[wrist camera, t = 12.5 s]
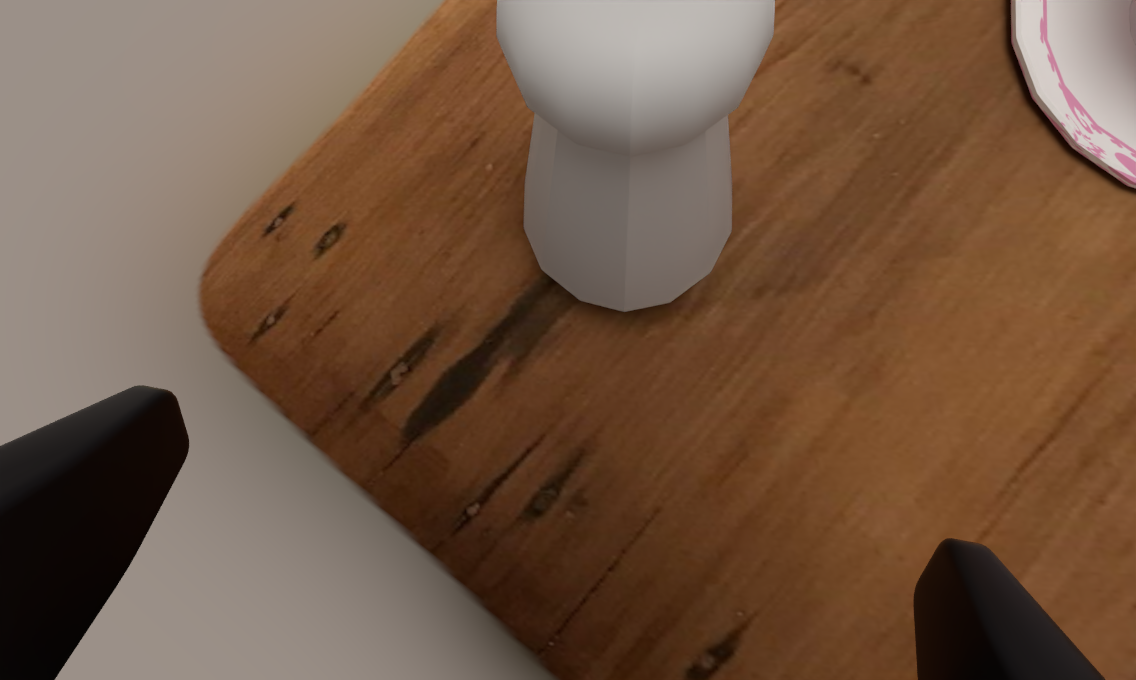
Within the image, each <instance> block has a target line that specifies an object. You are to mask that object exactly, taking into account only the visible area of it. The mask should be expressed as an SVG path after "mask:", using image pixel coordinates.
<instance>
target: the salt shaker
mask: <svg viewBox="0 0 1136 680" xmlns="http://www.w3.org/2000/svg"><path fill="white" fill-rule="evenodd" d="M774 11H775V0H497V38H498V41H499V43H500V46H501V48H502V50H503V53H504V55H505V58H506V60H507V62H508V64H509V67H510V69H511V71H512V73H513V76H514V78H515V80H516V82H517V85H518V87H519V89H520V91H521V94H522V96H523V98H524V100H525V103H526V105H527V107H528V108H529V109H531V110H532V111H533V112H535V115H534V122H533V129H532V136H531V143H530V150H529V157H528V164H527V171H526V178H525V195H524V230H525V232H526V235H527V237H528V239H529V242H530V244H531V246H532V249H533V251H534V254H535V256H536V258H537V261H538V263H539V265H540V268H541V270H543V271H544V272H545V273H546V274H548V275H549V276H550V277H551V278H553V279H554V280H555V281H556V282H558V283H559V284H560V285H561V286H563V287H564V288H565V289H566V290H567V291H569V292H570V293H571V294H572V295H574V296H575V297H576V298H577V299H579V300H580V301H583V302H587V303H591V304H595V305H599V306H603V307H607V308H611V309H615V310H619V311H623V312H627V311H632V310H637V309H642V308H647V307H652V306H657V305H661V304H666V303H670V302H672V301H673V300H674V299H676V298H677V297H678V296H680V295H681V294H682V293H684V292H685V291H686V290H688V289H689V288H690V287H692V286H693V285H694V284H696V283H697V282H698V281H700V280H701V279H703V278H704V277H705V276H707V275H708V274H709V273H711V271H712V269H713V267H714V265H715V263H716V261H717V259H718V257H719V255H720V253H721V251H722V249H723V247H724V245H725V243H726V241H727V239H728V237H729V235H730V233H731V231H732V175H731V158H730V142H729V126H728V114H730V113H731V112H732V111H734V110H735V109H737V108H738V106H739V104H740V102H741V100H742V98H743V97H744V95H745V93H746V91H747V89H748V87H749V85H750V83H751V81H752V79H753V77H754V75H755V73H756V71H757V69H758V67H759V65H760V63H761V61H762V59H763V57H764V55H765V53H766V50H767V48H768V46H769V44H770V41H771V39H772V37H773V33H774Z"/></svg>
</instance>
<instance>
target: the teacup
mask: <svg viewBox="0 0 1136 680" xmlns="http://www.w3.org/2000/svg"><path fill="white" fill-rule="evenodd" d="M1011 43H1012V46H1013V48H1014V51H1015V54H1016V56H1017V59H1018V62H1019V64H1020V67H1021V70H1022V72H1023V75H1024V78H1025V80H1026V83H1027V86H1028V88H1029V91H1030V94H1031V96H1032V99H1033V100H1034V101H1035V102H1036V104H1037V105H1038V106H1039V107H1040V109H1041V110H1042V111H1043V112H1044V114H1045V115H1046V116H1047V117H1048V119H1049V120H1050V121H1051V122H1052V124H1053V125H1054V126H1055V127H1056V128H1057V130H1058V131H1059V132H1060V133H1061V135H1062V136H1063V137H1064V138H1065V140H1066V141H1067V142H1068V143H1069V145H1070V146H1071V147H1072V148H1073V149H1075V150H1076V151H1077V152H1079V153H1080V154H1082V155H1083V156H1085V157H1086V158H1088V159H1089V160H1091V161H1092V162H1093V163H1095V164H1096V165H1098V166H1099V167H1101V168H1102V169H1104V170H1105V171H1107V172H1108V173H1109V174H1111V175H1112V176H1114V177H1115V178H1117V179H1118V180H1120V181H1121V182H1123V183H1124V184H1125V185H1127V186H1130V187H1133V188H1135V189H1136V0H1011Z"/></svg>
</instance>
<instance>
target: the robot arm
mask: <svg viewBox="0 0 1136 680" xmlns="http://www.w3.org/2000/svg"><path fill="white" fill-rule="evenodd" d="M188 449H189V438H188V434H187V430H186V427H185V424H184V420H183V417H182V414H181V411H180V407H179V404H178V401H177V398H176V396H175V395H174V394H173V393H172V392H170V391H168V390H164V389H158V388H153V387H148V386H134V387H132V388H129V389H127V390H125V391H122V392H120V393H118V394H116V395H113V396H111V397H109V398H107V399H104V400H102V401H100V402H98V403H95V404H93V405H91V406H89V407H87V408H84V409H82V410H80V411H78V412H75V413H73V414H71V415H69V416H66V417H64V418H62V419H60V420H57V421H55V422H53V423H51V424H49V425H46V426H44V427H42V428H40V429H37V430H36V431H33V432H31V433H28V434H26V435H24V436H22V437H20V438H17V439H15V440H13V441H11V442H8V443H6V444H4V445H2V446H0V680H55V678H56V677H57V675H58V674H59V672H60V671H61V669H62V668H63V666H64V665H65V663H66V662H67V660H68V658H69V657H70V655H71V654H72V652H73V651H74V649H75V648H76V646H77V645H78V643H79V642H80V640H81V639H82V637H83V636H84V634H85V633H86V631H87V630H88V628H89V627H90V625H91V624H92V622H93V621H94V619H95V618H96V616H97V615H98V613H99V612H100V610H101V609H102V607H103V606H104V604H105V603H106V601H107V600H108V598H109V597H110V595H111V594H112V592H113V591H114V589H115V588H116V586H117V585H118V583H119V581H120V580H121V578H122V577H123V575H124V573H125V572H126V570H127V568H128V567H129V565H130V563H131V562H132V560H133V558H134V556H135V555H136V553H137V551H138V549H139V547H140V545H141V544H142V542H143V540H144V538H145V536H146V534H147V532H148V530H149V528H150V526H151V525H152V523H153V521H154V518H155V517H156V515H157V513H158V511H159V509H160V507H161V506H162V504H163V501H164V500H165V498H166V496H167V494H168V492H169V490H170V488H171V486H172V484H173V483H174V481H175V479H176V477H177V475H178V473H179V471H180V469H181V467H182V465H183V463H184V462H185V459H186V457H187V454H188ZM914 621H915V639H916V656H917V673H918V680H1105V679H1104V677H1103V676H1102V675H1101V674H1100V673H1099V672H1098V671H1097V669H1096V668H1095V667H1094V666H1093V665H1092V664H1091V663H1090V662H1089V660H1088V659H1087V658H1086V657H1085V656H1084V655H1083V654H1082V653H1081V651H1080V650H1079V649H1078V648H1077V647H1076V646H1075V645H1074V644H1073V642H1072V641H1071V640H1070V639H1069V638H1068V637H1067V636H1066V634H1065V633H1064V632H1063V631H1062V630H1061V629H1060V628H1059V627H1058V625H1057V624H1056V623H1055V622H1054V621H1053V620H1052V619H1051V618H1050V616H1049V615H1048V614H1047V613H1046V612H1045V611H1044V610H1043V609H1042V607H1041V606H1040V605H1039V604H1038V603H1037V602H1036V601H1035V599H1034V598H1033V597H1032V596H1031V595H1030V594H1029V593H1028V592H1027V590H1026V589H1025V588H1024V587H1023V586H1022V585H1021V584H1020V583H1019V581H1018V580H1017V579H1016V578H1015V577H1014V576H1013V575H1012V574H1011V572H1010V571H1009V570H1008V569H1007V568H1006V567H1005V566H1004V564H1003V563H1002V562H1001V561H1000V560H999V559H998V558H997V557H996V555H995V554H994V553H993V552H992V551H991V550H990V549H989V548H987V547H986V546H984V545H982V544H979V543H974V542H968V541H963V540H958V539H952V538H949V539H945V540H943V541H942V542H941V543H940V544H939V546H938V547H937V549H936V550H935V552H934V554H933V556H932V557H931V559H930V561H929V563H928V564H927V566H926V568H925V569H924V571H923V573H922V575H921V576H920V578H919V580H918V582H917V584H916V587H915V592H914Z"/></svg>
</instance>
